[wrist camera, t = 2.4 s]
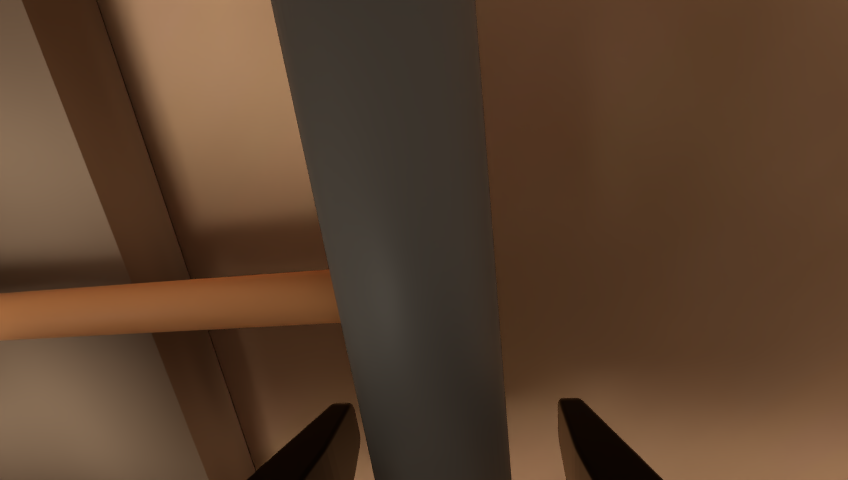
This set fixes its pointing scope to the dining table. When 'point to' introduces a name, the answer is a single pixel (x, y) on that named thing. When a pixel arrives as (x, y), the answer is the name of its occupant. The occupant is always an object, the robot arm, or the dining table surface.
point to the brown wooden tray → (93, 272)
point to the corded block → (365, 238)
